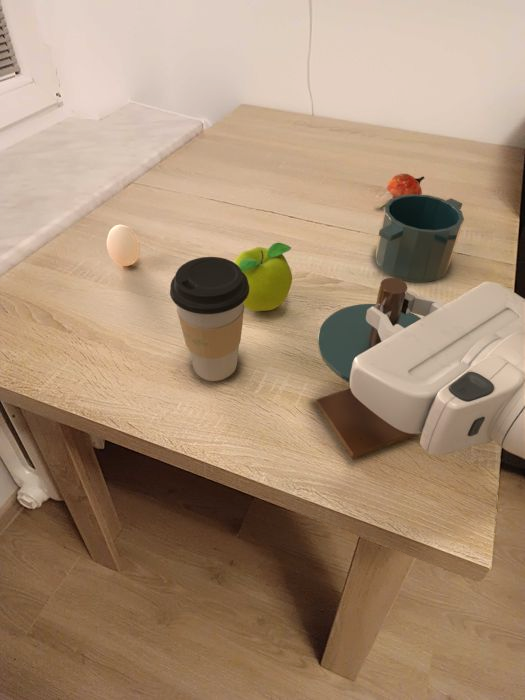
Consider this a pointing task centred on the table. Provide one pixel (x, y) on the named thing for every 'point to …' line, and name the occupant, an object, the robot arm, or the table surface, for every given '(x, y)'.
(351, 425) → the plate
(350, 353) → the lid
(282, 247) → the fruit
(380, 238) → the pot
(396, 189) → the pomegranate
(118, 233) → the egg
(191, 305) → the coffee cup
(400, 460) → the table surface
